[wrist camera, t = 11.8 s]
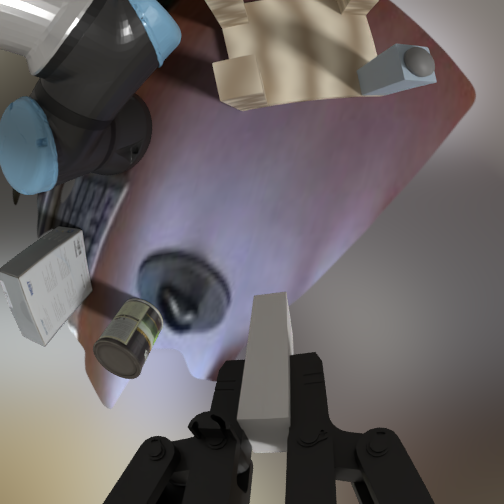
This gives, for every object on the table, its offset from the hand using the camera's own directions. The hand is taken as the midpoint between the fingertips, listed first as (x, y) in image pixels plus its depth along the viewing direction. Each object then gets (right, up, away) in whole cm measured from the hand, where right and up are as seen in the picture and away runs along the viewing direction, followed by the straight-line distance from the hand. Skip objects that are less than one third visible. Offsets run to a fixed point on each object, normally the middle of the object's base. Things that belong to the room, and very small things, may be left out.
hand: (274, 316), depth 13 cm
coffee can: (-25, -11, +44) cm, 52 cm away
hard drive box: (-40, +1, +39) cm, 56 cm away
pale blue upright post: (+16, +28, +19) cm, 37 cm away
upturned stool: (+6, +34, +19) cm, 39 cm away
